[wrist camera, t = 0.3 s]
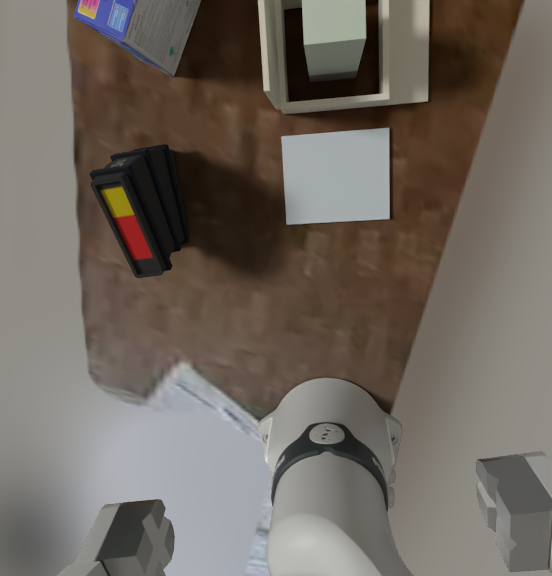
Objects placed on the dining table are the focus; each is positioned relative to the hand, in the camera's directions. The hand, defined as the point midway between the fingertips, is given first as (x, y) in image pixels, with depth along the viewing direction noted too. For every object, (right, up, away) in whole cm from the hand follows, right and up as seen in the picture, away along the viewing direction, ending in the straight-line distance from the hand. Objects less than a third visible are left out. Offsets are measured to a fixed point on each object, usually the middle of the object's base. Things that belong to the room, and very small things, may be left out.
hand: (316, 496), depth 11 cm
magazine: (-14, +15, +42) cm, 47 cm away
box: (+5, +31, +36) cm, 47 cm away
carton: (+7, +31, +35) cm, 47 cm away
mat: (+6, +18, +38) cm, 43 cm away
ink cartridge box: (-13, +35, +37) cm, 53 cm away
